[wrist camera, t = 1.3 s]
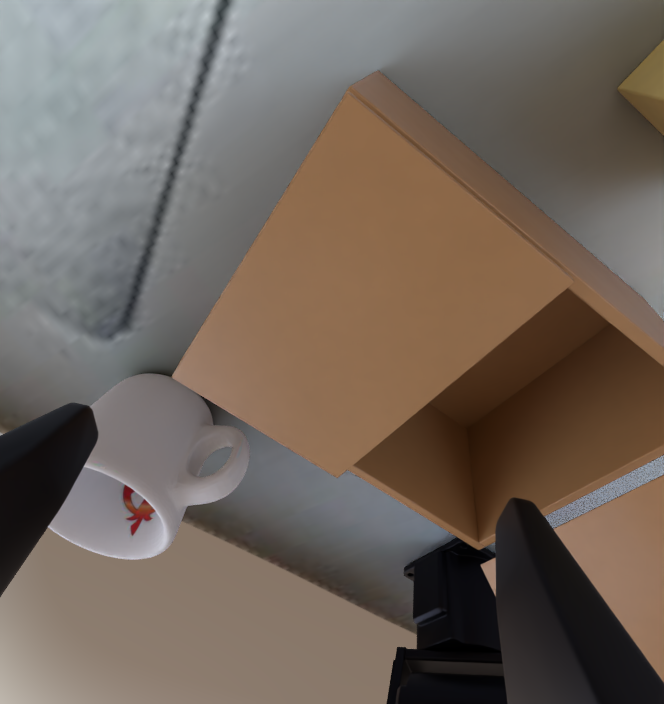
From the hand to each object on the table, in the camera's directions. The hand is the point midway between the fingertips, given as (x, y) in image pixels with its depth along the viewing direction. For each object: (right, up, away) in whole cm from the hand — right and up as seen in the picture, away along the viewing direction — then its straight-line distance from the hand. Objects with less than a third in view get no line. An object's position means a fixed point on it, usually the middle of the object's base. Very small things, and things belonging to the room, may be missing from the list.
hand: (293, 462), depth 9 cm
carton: (+5, +5, +11) cm, 14 cm away
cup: (-8, -1, +19) cm, 21 cm away
